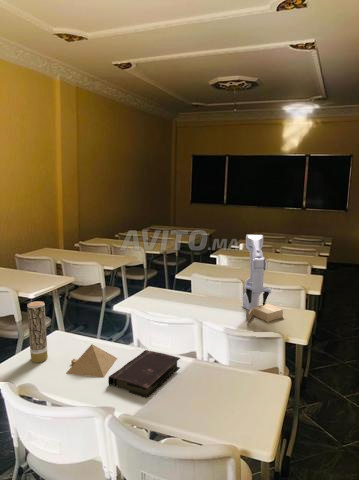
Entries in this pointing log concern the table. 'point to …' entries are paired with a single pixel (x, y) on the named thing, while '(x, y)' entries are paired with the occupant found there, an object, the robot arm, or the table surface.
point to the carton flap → (249, 314)
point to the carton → (267, 312)
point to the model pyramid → (92, 363)
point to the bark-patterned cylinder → (37, 331)
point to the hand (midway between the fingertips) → (256, 303)
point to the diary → (145, 373)
